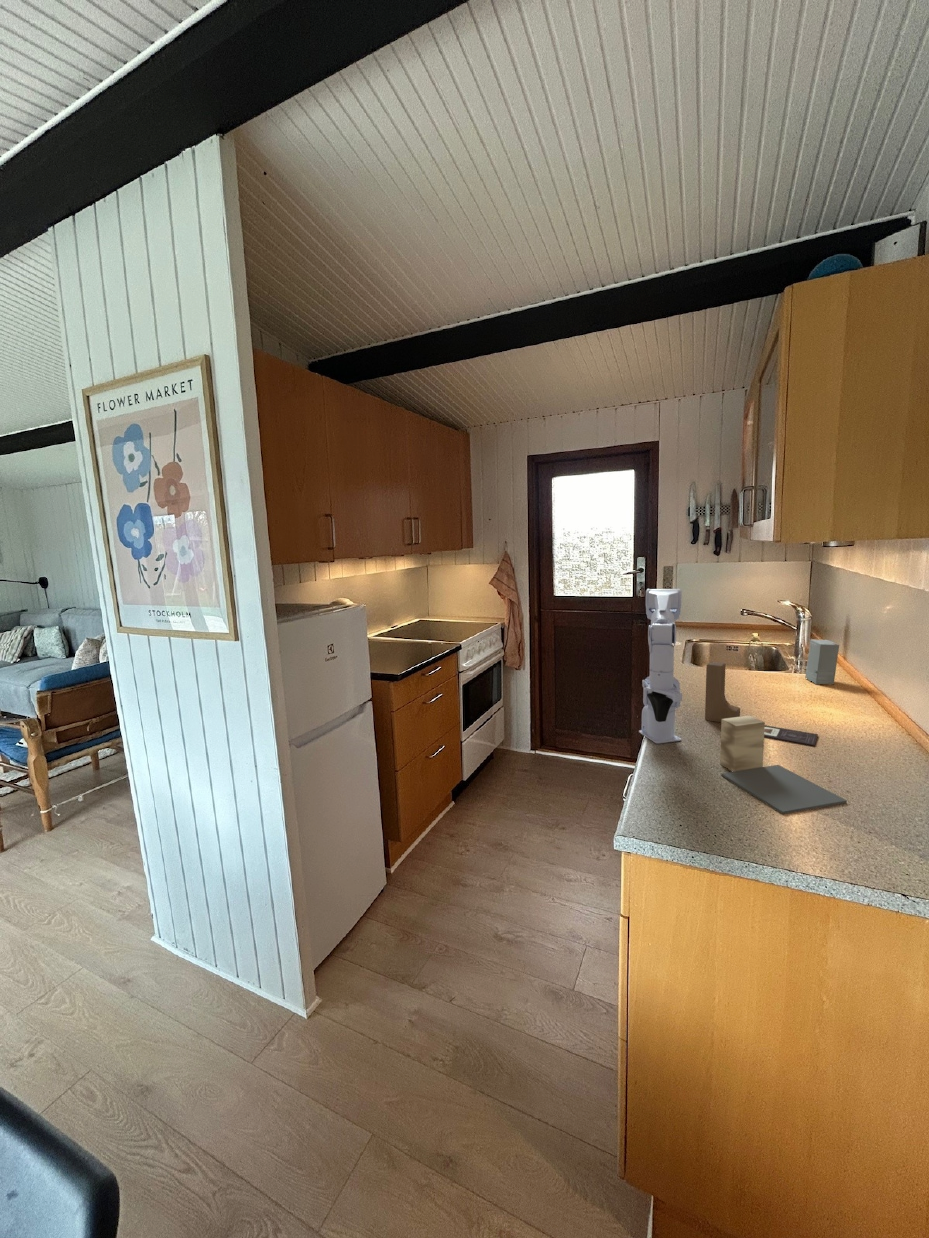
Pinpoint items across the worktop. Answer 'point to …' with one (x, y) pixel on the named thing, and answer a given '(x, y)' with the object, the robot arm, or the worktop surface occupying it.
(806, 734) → the chocolate bar
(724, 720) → the birch block
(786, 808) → the mat
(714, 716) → the wooden block
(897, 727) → the worktop surface
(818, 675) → the skincare box
